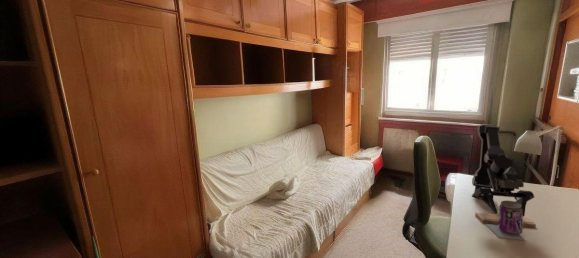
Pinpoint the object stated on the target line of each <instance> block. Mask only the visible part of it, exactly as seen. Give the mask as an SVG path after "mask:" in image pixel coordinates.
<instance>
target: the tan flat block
mask: <svg viewBox="0 0 579 258" xmlns="http://www.w3.org/2000/svg"><path fill="white" fill-rule="evenodd" d="M474 215H475V217H476V218H477V220H479V221H480V223H482V224H491V225H499V214H498V213H497V214H495V213H485V212H475V213H474ZM536 225H537V223H535V221H532V220H531V219H530V218H528V216H523V221H522V227H529V228H536Z"/></svg>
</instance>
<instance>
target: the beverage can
mask: <svg viewBox="0 0 579 258" xmlns="http://www.w3.org/2000/svg"><path fill="white" fill-rule="evenodd" d="M498 212H499V224H498V225H499V228H500V229H501V230H502V231H504V232H506V233H509V234H519V235H521V234H522V233H523V226H522V221H523V209H522V208H521V204H519V203H517V202H515V201H512V200H501V201H500V204H499V210H498Z"/></svg>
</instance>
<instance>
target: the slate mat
mask: <svg viewBox="0 0 579 258" xmlns="http://www.w3.org/2000/svg"><path fill="white" fill-rule="evenodd" d="M485 226H486V227H487V228H488V229H489V230H490V231H491V232H492V233H493V234H494V235H495V236H496V237H497V238H499V239H511V240H519V241H520V240H521V241H525V240H526V238H524V237H523V236H522V235H521V234H509V233H506V232H504V231H502V230H501V229H500V228H499V224H491V223H485Z"/></svg>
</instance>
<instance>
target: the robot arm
mask: <svg viewBox="0 0 579 258" xmlns="http://www.w3.org/2000/svg"><path fill="white" fill-rule="evenodd" d="M500 130H501V127H500V126H497V125H496V124H487V123H480V125H478V126H477V135H478V137H479V139H480V140H481V144H480V145H481V147H480V157H479V158H480V159H479V168H478V169H476V171H475V174H473V176H472V178H471V179H472V180H471V184H472V186H473V187H474V191H473V193H472V195H471V197H473V198H477V199H479V200H481V201H482V202H484V203H485V204H486V205H487V206H488V208H489V209H490V211H492V212H493V214H498V210H497V207H496V206H497V205H496V203H495V200H494V196H495V197H505V198H506V197H507V198H514V199H515V201H514V202H517V203H519V204H521V208H522V209H523V216H525V214H526V206H527V203H528V202H529V201H531V200H532V199H534V198H535V194H534V193H533V191H531V190H525V189H524V190H523V189H520V188H524V182H523V179H520V178H519V179H518V178H514V180H511V179H510V178H507V175H506V174H507V173H508V172H509V170H510V169H511V167H512V166H513V162H512V160H511V159H510V158H509V157H508V156H507V155H506V152H505V151H506V150H504V149H502V148H501V141H500V138H499V134H500ZM515 190H519V191H517V192H514V191H515ZM525 217H526V216H525Z"/></svg>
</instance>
